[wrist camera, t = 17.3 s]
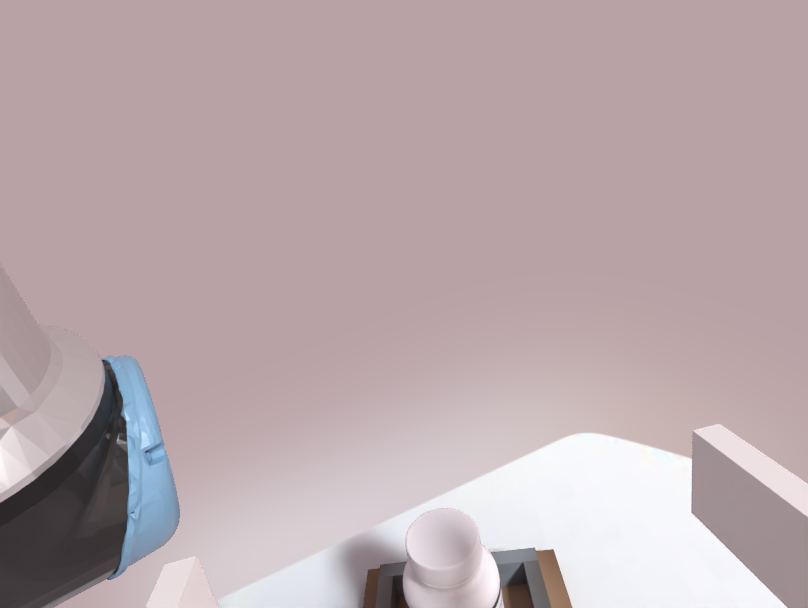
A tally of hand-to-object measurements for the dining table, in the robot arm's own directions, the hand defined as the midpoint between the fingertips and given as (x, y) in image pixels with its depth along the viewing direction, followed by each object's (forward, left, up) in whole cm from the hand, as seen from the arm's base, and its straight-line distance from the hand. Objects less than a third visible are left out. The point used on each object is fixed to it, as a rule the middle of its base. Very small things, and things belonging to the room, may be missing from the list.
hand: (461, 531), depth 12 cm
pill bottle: (-2, +10, -20) cm, 22 cm away
